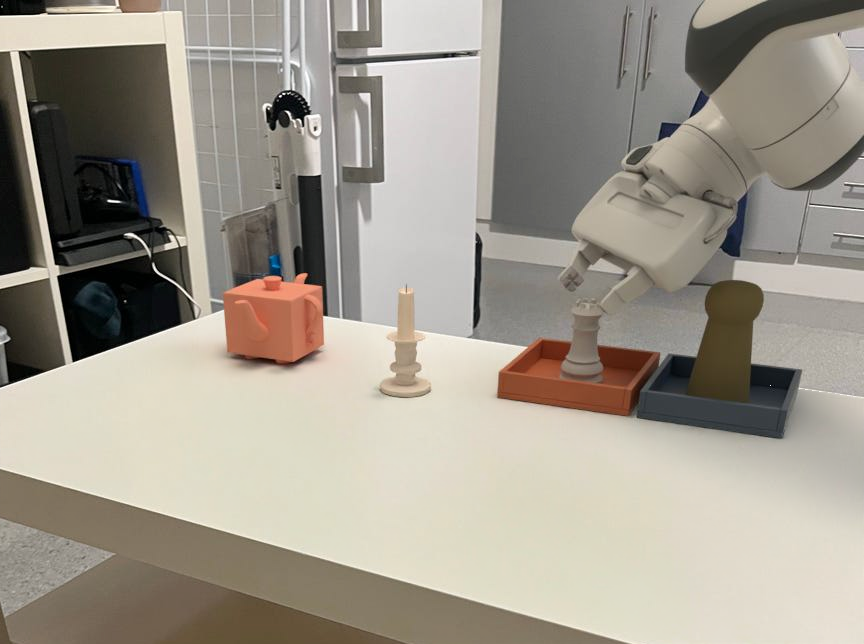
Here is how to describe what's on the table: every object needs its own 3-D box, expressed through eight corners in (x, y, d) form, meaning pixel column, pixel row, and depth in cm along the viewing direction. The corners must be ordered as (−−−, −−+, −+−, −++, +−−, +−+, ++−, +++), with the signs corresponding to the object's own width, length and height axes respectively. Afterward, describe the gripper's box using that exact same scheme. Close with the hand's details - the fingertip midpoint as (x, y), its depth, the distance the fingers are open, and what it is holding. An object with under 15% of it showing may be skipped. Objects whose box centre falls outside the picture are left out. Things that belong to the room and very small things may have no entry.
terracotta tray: (657, 376, 107) (660, 352, 105) (628, 416, 97) (631, 389, 95) (536, 361, 111) (538, 337, 110) (497, 397, 101) (498, 371, 100)
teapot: (194, 365, 110) (186, 286, 106) (265, 331, 122) (260, 258, 117) (289, 380, 106) (285, 298, 101) (353, 343, 117) (352, 268, 113)
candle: (425, 398, 101) (427, 291, 95) (374, 395, 102) (374, 288, 96) (435, 382, 105) (437, 279, 100) (386, 379, 106) (386, 276, 101)
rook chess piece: (583, 391, 101) (592, 309, 97) (549, 381, 104) (556, 301, 99) (611, 382, 103) (621, 302, 99) (577, 372, 106) (585, 293, 102)
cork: (739, 412, 96) (762, 293, 90) (676, 401, 98) (694, 284, 92) (756, 394, 100) (779, 279, 94) (695, 384, 103) (714, 271, 97)
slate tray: (796, 394, 102) (802, 369, 100) (781, 438, 92) (787, 410, 90) (664, 377, 106) (668, 353, 105) (636, 417, 96) (640, 390, 95)
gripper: (765, 229, 89) (648, 348, 92) (657, 193, 106) (561, 294, 109) (729, 176, 86) (609, 301, 89) (623, 147, 103) (526, 253, 106)
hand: (582, 297), depth 99 cm, fingers open, 8 cm apart
